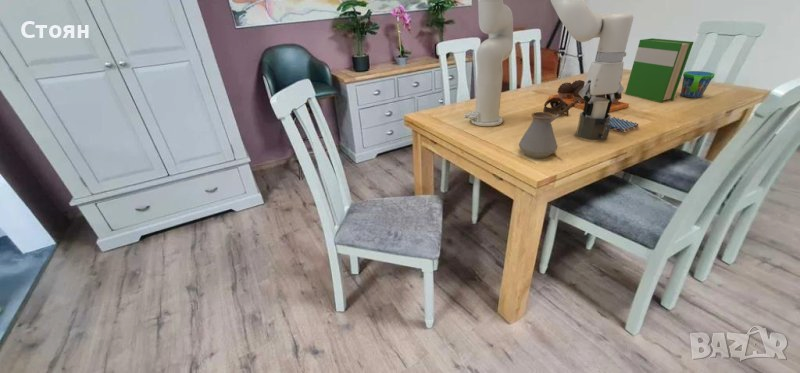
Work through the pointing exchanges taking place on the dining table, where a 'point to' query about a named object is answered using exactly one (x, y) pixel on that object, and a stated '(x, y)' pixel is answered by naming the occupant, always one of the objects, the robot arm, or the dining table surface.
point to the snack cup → (695, 83)
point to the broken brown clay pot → (555, 105)
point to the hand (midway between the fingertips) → (595, 112)
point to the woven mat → (621, 125)
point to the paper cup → (599, 107)
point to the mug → (593, 127)
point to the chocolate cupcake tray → (571, 95)
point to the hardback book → (658, 68)
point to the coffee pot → (541, 135)
